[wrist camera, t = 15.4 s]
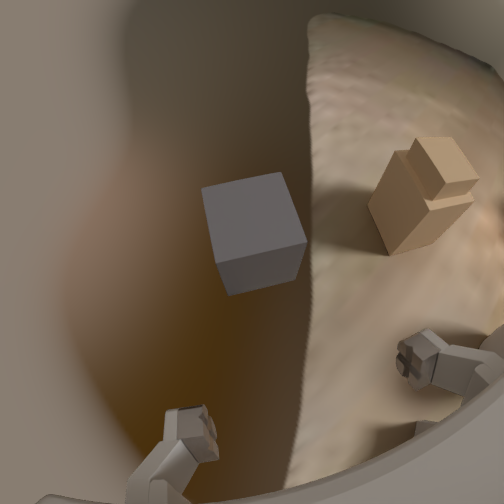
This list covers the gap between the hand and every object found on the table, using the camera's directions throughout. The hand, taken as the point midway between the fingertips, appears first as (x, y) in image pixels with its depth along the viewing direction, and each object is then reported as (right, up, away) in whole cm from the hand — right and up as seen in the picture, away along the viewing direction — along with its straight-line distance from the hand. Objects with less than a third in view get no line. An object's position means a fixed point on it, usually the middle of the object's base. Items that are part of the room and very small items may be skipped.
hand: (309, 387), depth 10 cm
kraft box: (+14, +8, +19) cm, 25 cm away
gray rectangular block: (-2, +5, +18) cm, 19 cm away
